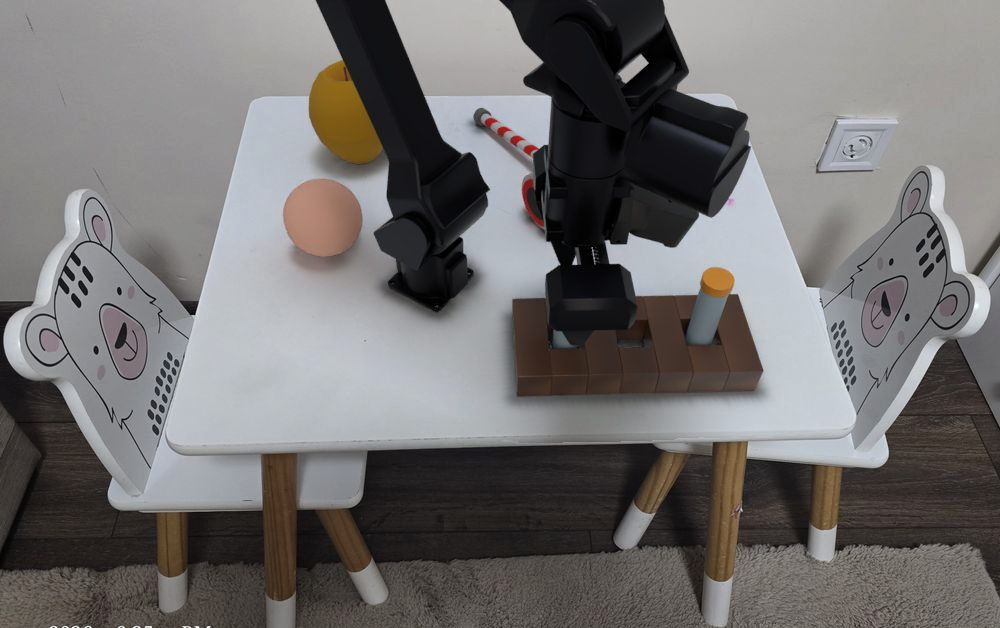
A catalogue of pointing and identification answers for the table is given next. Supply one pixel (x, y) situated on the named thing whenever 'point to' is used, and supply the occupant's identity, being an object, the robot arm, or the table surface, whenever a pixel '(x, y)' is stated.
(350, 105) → the apple
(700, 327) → the orange-capped peg
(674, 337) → the rack
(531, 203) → the toy hammer
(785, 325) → the table surface
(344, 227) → the toy ball
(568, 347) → the tube grey
